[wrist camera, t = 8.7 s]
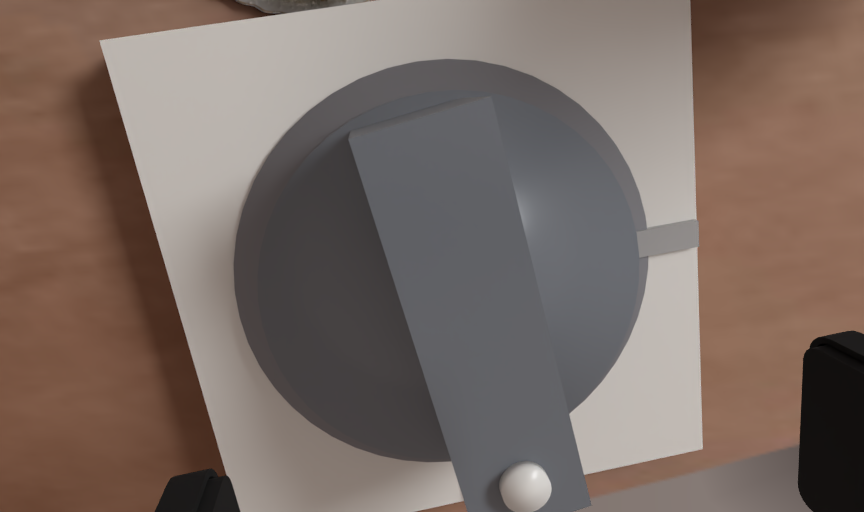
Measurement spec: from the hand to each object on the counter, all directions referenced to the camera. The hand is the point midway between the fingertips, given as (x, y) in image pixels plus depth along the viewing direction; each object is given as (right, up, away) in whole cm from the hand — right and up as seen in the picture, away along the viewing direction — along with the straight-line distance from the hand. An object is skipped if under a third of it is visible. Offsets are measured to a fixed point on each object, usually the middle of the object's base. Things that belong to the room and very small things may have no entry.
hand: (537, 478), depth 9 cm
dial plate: (-1, +3, +14) cm, 14 cm away
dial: (-1, +3, +11) cm, 12 cm away
